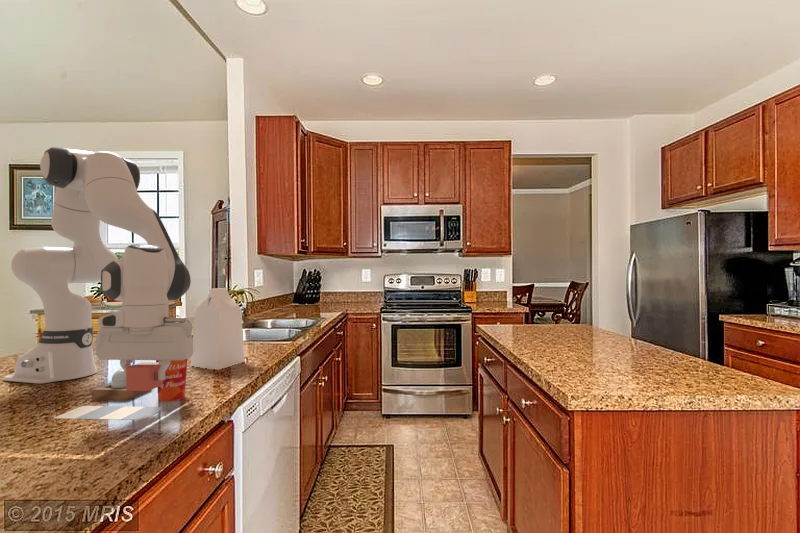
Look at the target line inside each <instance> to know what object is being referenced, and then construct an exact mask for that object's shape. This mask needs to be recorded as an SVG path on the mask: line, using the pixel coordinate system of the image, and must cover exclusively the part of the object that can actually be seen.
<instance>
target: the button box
mask: <svg viewBox="0 0 800 533" xmlns="http://www.w3.org/2000/svg"><path fill="white" fill-rule="evenodd" d="M146 392H148V391H126V388H112V381H111V382H109V383H106V384H104V385H101V386H98V387H96V388H93V389H91V400H92V401H99V400H100V401H129V400H132V399H133V398H136V397H138V396H140V395H143V394H145V393H146Z"/></svg>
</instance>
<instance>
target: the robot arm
mask: <svg viewBox="0 0 800 533" xmlns="http://www.w3.org/2000/svg"><path fill="white" fill-rule="evenodd" d="M39 163H40V164H39V169H40V171H41V172H40V173H41V174H42V178H43V180H44V181H45V182H46V183H47V184H48V185H51V186H53V187H56V189H55V194H54V200H53V209H52V214H51V228H52V229H53V231H54V232H55V233H57V235H59V236H61V237H63V238H64V239H67V240H69V241H72V242H73V246H71V247H64V246H34V247H25V248H22V249H20V250H18V251H17V252H16V253H15V255H14V256H13V258H12V260H11V264H10V265H11V266H10V267H11V270H12V273H13V275H14V276H15V277H16V279H18V280H19V281H21V282H22V283H24V284H26V285H28V286H29V287H30V288H32V289H33V291H35V293H36V294H37V295H38V296H39V298H40V300H41V303H42V305H43V312H44V313H43V314H44V330H43V331H42V332H38V333H35V335H36V336H35V338H39V340H38V343H37V344H35V345H34V346H33V347H31V348H30V349H29V350H26V352H24V353H23V354H21V355H20V356H19V357H18V358H17V359H16V361H15V366H14V372H13V373H12V372H11V373H10V374H7V375H5V376H3V379H2V381H7V382H17V383H28V384H29V383H30V384H38V385H39V384H40V385H41V384H48V383H53V382H59V381H68V380H75V379H79V378H84V377H85V378H86V377H88V376H92V375H94V374H97V373H98V369H97V366H96V362H95V357H94V352H93V339H94V327H92V322H93V321H92V314H93V312H92V309H93V308H92V306H93V305H92V303H91V302H90V300H89V299H87V298H86V297H83V296H81V295H79V294H76V293H73V292H71V291H70V288H69V284H95V283H100V291H101V292H102V293H103V294H104V296H106V297H108V299H110V300H112V301H117V302H122V303H121V310H118V311H116V312H111V313H109V314H107V315H106V314H105V315H103V316H100V317H98V320H97V322H98V327H100V328H99V329H98V331H97V333H96V339H95V355H96V357H97V358H98V359H99V360H101V361H105V360H106V361H114V360H115V361H119V365H120V367H121V369H123V370H124V372H125V379H126V367H129V366H132V363H133V362H134V361H156V360H159V365H161V367H160V369H159V371H157V372H155V373H154V380H164V379H165V371H166V370H167V368H168V366H169V365H170V363H171V360H185V359H187V360H188V359H191V356H192V355H193V352H194V350H193V324H192V322H191V321H190V320H188V319H187V318H186V317H172V316H171V317H169V316H170V315H169V312H170V310H169V308H170V305H169V304H170V302H169V301H177V300H179V299H180V298H182V297H183V296H184V295H185V294H186V293H187V292H188V290H189V289H190V287H191V281H192V280H191V275H190V271H189V269H188V268H187V265H185V263H184V262H183V261H182V259H181V258H180V256H179V254H178V252H177V250H176V248H175V245H174V244H173V241H172V239H171V237H170V234H169V233H168V230H167V229H166V227H165V225H164V223H163V221H162V219H161V218H160V216H159V214H158V213H157V211H155V209H152V208H151V207H149V205H147V203H146V202H145V201H144V200H143V199H142V197H141V196H140V195H139V193H138V191H137V190H138V189H139V186H140V183H141V182H140V181H141V173H140V172H141V171H140V168H139V166H138V165H137V163H135V162H134V161H131V160H130V159H127V158H124V157H121V156H120V155H118V154H116V153H114V152H110V151H105V150H103V151H94V152H93V151H88V150H81V149H70V148H67V147H65V146H64V147H62V146H60V147H59V146H57V147H56V146H52V147H49V148H48V149H46V150H45V151H44V153H43V155H42V157H41V159H40V162H39ZM101 222H103V223H104V224H107V225H109V226H112V227H116V228H119V229H122V230H125V231H128V232H131V233H133V234H134V235H135V234H136V235H137V236H139V237H141V238H142V239H143V240H145V242H146V243H147V244H139V243H137V244H136V243H134V244H130V245H128V246H126V247H125V249H124V254H123V256H122V257H120V258H119V257H118V256H117V255H116V254H115V253H114V252H113V251H112V250H111V249H109V248H108V247H107V246H106V245H105V243H104V242H103V240H102V238H101V233H100V225H101V224H100V223H101Z"/></svg>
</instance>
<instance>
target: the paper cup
mask: <svg viewBox="0 0 800 533" xmlns="http://www.w3.org/2000/svg"><path fill="white" fill-rule="evenodd" d="M155 362H159V360H155ZM187 369H188V359H185V360H171V363H170V365H169V366H168V368H167V370H166V371H165V379H164V380H163V385H161V386H159V387H157V398H158V401H160V402H174V401H178V400H181V399H184V398H185V395H186V394H185V393H186V385H187V384H186V383H187V382H186V381H187V371H188V370H187Z"/></svg>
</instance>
